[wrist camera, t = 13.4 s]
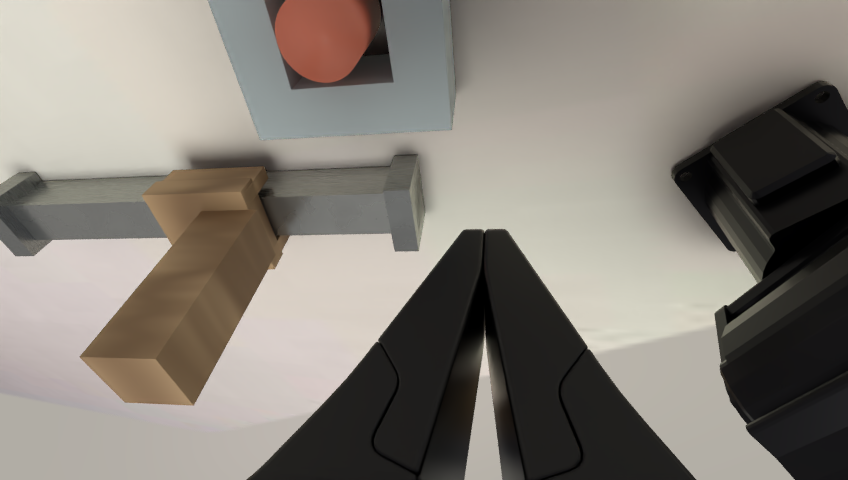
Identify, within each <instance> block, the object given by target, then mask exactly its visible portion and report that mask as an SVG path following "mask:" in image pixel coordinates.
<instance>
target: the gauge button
mask: <svg viewBox="0 0 848 480" xmlns="http://www.w3.org/2000/svg"><path fill="white" fill-rule="evenodd" d="M380 21H381V10H380V5H379V1H378V0H286V1H285V2H284V3H283V4H282V6H281V7H280V9H279V11H278V13H277V17H276V21H275V36H276V41H277V44H278V47H279V50H280V52H281V54H282V56H283V57H284V59H285V60H286V62H287V63H288V64H289V65H290V66H291V67H292V68H293V69H294V70H295V71H296V72H297V73H299V74H300V75H302V76H303V77H305V78H307V79H309V80H312V81H315V82H321V83H330V82H335V81H338V80H341V79H343V78H344V77H346V76H347V75H348V74H349V73H350V72H351V71H352V70H353V69H354V67H355V66H356V64H357V63H358V61H359V60H360V58H361V57H362V55H363V54H364V52H365V51H366V49H367V48H368V46H369V45H370V43H371V42H372V40H373V39H374V37H375V35H376V34H377V32H378V29H379V26H380Z"/></svg>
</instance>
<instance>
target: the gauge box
mask: <svg viewBox="0 0 848 480" xmlns="http://www.w3.org/2000/svg"><path fill="white" fill-rule="evenodd" d="M285 1H286V0H208V2H209V5H210V8H211V10H212V13H213V16H214V18H215V21H216V24H217V26H218V29H219V32H220V34H221V37H222V40H223V42H224V45H225V48H226V50H227V53H228V56H229V58H230V61H231V64H232V66H233V69H234V72H235V74H236V77H237V80H238V82H239V85H240V88H241V90H242V93H243V95H244V98H245V101H246V103H247V106H248V109H249V111H250V114H251V117H252V119H253V122H254V125H255V127H256V130H257V133H258V135H259V138H260V140H273V139H291V138H310V137H329V136H347V135H366V134H384V133H403V132H422V131H440V130H452V123H453V115H454V107H455V99H456V89H455V73H454V57H453V41H452V25H451V9H450V0H381V2H382V8H383V15H384V22H385V28H386V35H387V41H388V48H389V54H384V55H372V56H362V57H361V58H360V60H359V61H358V63H357V64H356V66H355V67H354V69H353V70H352V71H351V72H350V73H349V74H348V75H347V76H346V77H344V78H343V79H341V80H338V81H335V82H330V83H321V82H315V81H312V80H309V79H307V78H305V77H303V76H302V75H300V74H299V73H297V72H296V71H295V70H294V69H293V68H292V67H291V66H290V65H289V64H288V63H287V62H286V60H285V59H284V57H283V56H282V54H281V52H280V50H279V47H278V44H277V41H276V36H275V21H276V17H277V13H278V11H279V9H280V7H281V6H282V4H283V3H284V2H285Z"/></svg>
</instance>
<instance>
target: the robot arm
mask: <svg viewBox="0 0 848 480" xmlns="http://www.w3.org/2000/svg"><path fill="white" fill-rule="evenodd" d="M823 91H824V93H823V95H822V96H821V97H819V98H817V99H815V97H816V96H817V95H818V94H819V93H820V92H823ZM685 172H689V173H688V174H687V175H686V176H684V177H680V176H681V175H682V174H683V173H685ZM671 176H672V178H673V180H674V181H675V183H676V184H677V186H678V187H679V188H680V189H681V191H682V192H683V193H684V194H685V196H686V197H687V198H688V199H689V201H690V202H691V203H692V205H693V206H694V207H695V208H696V210H697V211H698V212H699V213H700V215H701V216H702V217H703V219H704V220H705V221H706V222H707V224H708V225H709V226H710V227H711V229H712V230H713V231H714V233H715V234H716V235H717V236H718V238H719V239H720V240H721V241H722V243H723V244H724V245H725V246H726V248H727V249H728V250H730V251H733V252H734V251H737V253H738V254H739V256H740V257H741V259H742V260H743V262H744V263H745V265H746V266H747V268H748V269H749V271H750V272H751V274H752V275H753V277H754V278H755V280H756V281H757V284H756V285H755V286H754V287H752V288H751V289H750V290H748V291H747V292H746V293H744V294H743V295H742V296H741V297H739V298H738V299H737V300H735V301H734V302H733V303H731V304H730V305H729V306H727V305H725V306H723V307H722V308H721V309H719V310H718V311H717V312H715V321H716V328H717V335H718V342H719V349H720V356H721V364H720V373H721V376H722V377H723V379H724V383H725V387H726V390H727V393H728V395H729V398H730V402H731V403H732V405H733V406H734V407H735V408H736V410H737V411H738V413H739V414H740V416H741V417H742V418H743V420H744V421H745V422H746V423H747V425H746V429H747V431H748V432H749V434H750V435H751V436H752V437H754V438H755V439H756V440H757V441H758V442H759V443H760V444H761V445H762V446H763V447H764V448H765V449H767V450H768V451H769V452H770V453H771V454H772V455H773V456H774V457H775V458H777V460H778V461H779V462H780V463H781V464H782V465H783V467H784V468H785V469H786V470H787V471H788V472H789V473H790V475H791V476H792V477H793V478H794V479H795V480H848V110H847V108H846V106H845V104H844V102H843V100H842V98H841V96H840V94H839V92H838V90H837V88H836V87H835V86H833V85H832V84H830V83H828V82H824V81H822V82H817V83H815V84H812V85H811V86H809V87H807V88H806V89H804V90H802V91H801V92H799V93H797V94H796V95H794V96H792V97H791V98H789V99H787V100H786V101H784V102H782V103H781V104H779V105H777V106H776V107H774V108H772V109H770V110H768V111H767V112H765V113H764V114H762V115H760V116H759V117H757V118H755V119H754V120H752V121H750V122H749V123H747V124H745V125H744V126H742V127H740V128H739V129H737V130H735V131H734V132H732V133H730V134H729V135H727V136H725V137H724V138H722V139H720V140H719V141H717V142H715V143H714V144H713V145H711V146H709V147H708V148H706V149H704V150H703V151H701V152H699V153H698V154H696V155H694V156H693V157H691V158H689V159H688V160H686V161H684V162H683V163H681V164H679V165H678V166H677V167H675V168H674V169H673V171H672V175H671ZM485 336H486V348H487V357H488V365H489V373H490V380H491V389H492V397H493V405H494V413H495V422H496V429H497V438H498V446H499V455H500V463H501V471H502V479H503V480H696V479H695V478H694V477H693V475H692V474H691V473H690V472H689V471H688V470H687V469H686V468H685V466H684V465H683V464H682V463H681V462H680V461H679V460H678V459H677V457H676V456H675V455H674V454H673V453H672V452H671V450H670V449H669V448H668V447H667V446H666V445H665V444H664V443H663V442H662V440H661V439H660V438H659V437H658V436H657V435H656V433H655V432H654V431H653V430H652V429H651V428H650V427H649V425H648V424H647V423H646V422H645V421H644V420H643V418H642V417H641V416H640V415H639V414H638V412H637V411H636V410H635V409H634V408H633V407H632V406H631V404H630V403H629V402H628V401H627V399H626V398H625V397H624V396H623V395H622V393H621V392H620V391H619V390H618V388H617V387H616V385H615V384H614V383H613V381H612V380H611V379H610V377H609V376H608V375H607V373H606V372H605V371H604V369H603V368H602V366H601V365H600V364H599V362H598V361H597V359H596V358H595V356H594V355H593V353H592V352H591V351H590V350H589V349H587V348H588V347H587V345H586V344H585V342H584V341H583V339H582V338H581V336H580V335H579V334H578V332H577V331H576V329H575V328H574V326H573V325H572V323H571V322H570V321H569V319H568V318H567V316H566V315H565V313H564V312H563V310H562V309H561V308H560V306H559V305H558V303H557V302H556V300H555V299H554V297H553V296H552V295H551V293H550V292H549V290H548V289H547V287H546V286H545V284H544V283H543V282H542V280H541V279H540V277H539V276H538V274H537V273H536V271H535V270H534V269H533V267H532V266H531V264H530V263H529V261H528V260H527V258H526V257H525V256H524V254H523V253H522V251H521V250H520V248H519V247H518V245H517V244H516V243H515V241H514V240H513V238H512V237H511V235H510V234H509V232H508V231H507V230H505V229H487V230H486V231H485V233H484V231H483V230H482V229H466V230H463V231H462V232H461V234H460V235H459V236H458V237H457V239H456V240H455V241H454V243H453V244H452V245H451V246H450V248H449V249H448V250H447V252H446V253H445V254H444V255H443V257H442V258H441V259H440V261H439V262H438V263H437V264H436V266H435V267H434V268H433V270H432V271H431V272H430V273H429V275H428V276H427V277H426V279H425V280H424V281H423V283H422V284H421V285H420V286H419V288H418V289H417V290H416V292H415V293H414V294H413V295H412V297H411V298H410V299H409V301H408V302H407V303H406V304H405V306H404V307H403V308H402V310H401V311H400V312H399V313H398V315H397V316H396V317H395V319H394V320H393V321H392V322H391V324H390V325H389V326H388V328H387V329H386V330H385V331H384V333H383V334H382V335H381V337H380V338H379V339H378V341H379V342H376V343H375V344H374V345H373V346H372V348H371V349H370V350H369V352H368V353H367V354H366V356H365V357H364V358H363V359H362V361H361V362H360V363H359V364H358V365H357V367H356V368H355V369H354V370H353V371H352V373H351V374H350V375H349V376H348V377H347V379H346V380H345V381H344V382H343V383H342V384H341V385H340V386H339V387H338V388H337V389H336V390H335V392H334V393H333V394H332V395H331V396H330V397H329V398H328V399H327V400H326V401H325V402H324V403H323V404H322V405H321V406H320V407H319V409H318V410H317V411H316V412H315V413H314V414H313V415H312V416H311V417H310V418H309V419H308V420H307V421H306V422H305V423H304V424H303V425H302V426H301V427H300V428H299V429H298V430H297V431H296V432H295V433H294V434H293V435H292V436H291V437H290V438H289V439H288V440H287V442H285V443H284V444H283V445H282V447H281V448H279V450H278V451H277V452H276V453H275V454H274V455H273V456H272V457H271V458H270V459H269V460H268V461H267V462H266V463H265V464H264V465H263V466H262V467H261V468H260V469H259V470H257V471H256V472H255V473H254V474H253V475H252V476H250V477H249V478H248V479H247V480H464V477H465V470H466V463H467V456H468V450H469V443H470V436H471V429H472V422H473V415H474V409H475V402H476V395H477V388H478V381H479V375H480V368H481V361H482V354H483V347H484V338H485Z"/></svg>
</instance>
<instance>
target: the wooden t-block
mask: <svg viewBox="0 0 848 480" xmlns="http://www.w3.org/2000/svg"><path fill="white" fill-rule="evenodd" d="M267 180H268V176H267V173H266V170H265V168H264V166H259V167H237V168H214V169H191V170H173V171H172V172H171V173H170V174H169V175H168V176H167V177H166V178H165V179H164V180H163V181H157V182H155V183H154V184H153V185H152V186H151V187H150V188H149V189H148V190H147V191H145V192H144V193H143V194H142V197H143V199H144V200H145V202H146V204H147V205H148V207H149V208H150V210H151V212H152V213H153V215H154V217H155V218H156V220H157V221H158V223H159V225H160V226H161V228H162V230H163V231H164V233H165V234H166V236H167V238H168V239H169V241H170V243H171V244H172V247H171V248H170V249H169V250H168V252H167V253H166V254H165V255H164V256H163V258H162V259H161V260H160V261H159V262H158V264H157V265H156V266H155V267H154V268H153V270H152V271H151V272H150V273H149V274H148V276H147V277H146V278H145V279H144V280H143V282H142V283H141V284H140V285H139V286H138V288H137V289H136V290H135V291H134V292H133V294H132V295H131V296H130V297H129V298H128V300H127V301H126V302H125V303H124V304H123V306H122V307H121V308H120V309H119V310H118V312H117V313H116V314H115V315H114V316H113V318H112V319H111V320H110V321H109V322H108V324H107V325H106V326H105V327H104V328H103V329H102V331H101V332H100V333H99V334H98V335H97V337H96V338H95V339H94V340H93V341H92V343H91V344H90V345H89V346H88V347H87V349H86V350H85V351H84V352H83V353H82V355H81V356H80V358H81V359H82V360H83V361H84V362H85V363H86V364H87V365H88V366H89V367H90V368H91V369H92V370H93V371H94V372H95V373H96V374H97V375H98V376H99V377H100V378H101V379H102V380H103V381H104V382H105V383H106V384H107V385H108V386H109V387H110V388H111V389H112V390H113V391H114V392H115V393H116V394H117V395H118V396H119V397H120V398H121V399H122V400H123V401H124V402H127V403H150V404H173V405H194V404H195V402H196V400H197V398H198V396H199V395H200V393H201V391H202V389H203V387H204V385H205V384H206V382H207V380H208V378H209V376H210V374H211V373H212V371H213V369H214V367H215V365H216V363H217V362H218V360H219V358H220V356H221V354H222V352H223V351H224V349H225V347H226V345H227V343H228V341H229V340H230V338H231V336H232V334H233V332H234V330H235V329H236V327H237V325H238V323H239V321H240V319H241V318H242V316H243V314H244V312H245V310H246V308H247V307H248V305H249V303H250V301H251V299H252V297H253V296H254V294H255V292H256V290H257V288H258V286H259V285H260V283H261V281H262V279H263V277H264V275H265V274H266V272H267V270H268V269H275V268H276V266H277V264H278V262H279V260H280V258H281V256H282V254H283V253H282V249H283V248H284V246H285V244H286V242H287V240H288V238H289V236H290V235H278V236H275V234H274V232H273V229H272V227H271V224H270V222H269V220H268V217H267V215H266V212H265V210H264V208H263V205H262V203H261V200H260V198H259V195H258V193H259V191H260V190H261V188H262V187H263V186H264V184H265V183H266V181H267Z"/></svg>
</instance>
